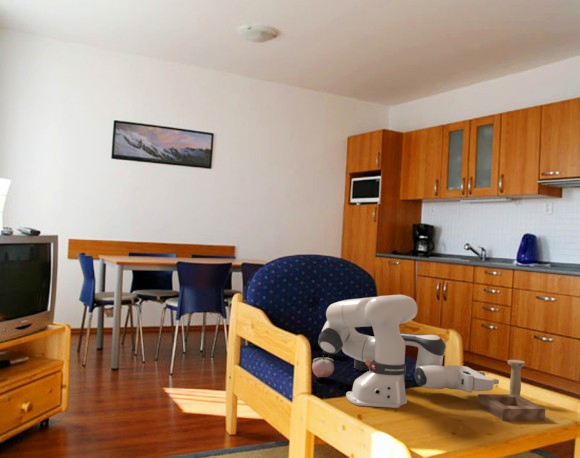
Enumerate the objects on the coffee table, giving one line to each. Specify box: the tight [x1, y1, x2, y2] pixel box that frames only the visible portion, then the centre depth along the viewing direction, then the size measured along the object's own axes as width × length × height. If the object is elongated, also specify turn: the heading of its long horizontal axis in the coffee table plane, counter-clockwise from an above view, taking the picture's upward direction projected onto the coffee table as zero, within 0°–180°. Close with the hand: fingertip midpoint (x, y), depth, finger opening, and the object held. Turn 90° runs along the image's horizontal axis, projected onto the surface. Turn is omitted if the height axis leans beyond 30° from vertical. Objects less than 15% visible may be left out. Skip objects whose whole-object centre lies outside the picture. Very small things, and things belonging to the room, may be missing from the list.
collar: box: [477, 393, 546, 422], centre depth 183 cm, size 16×16×4 cm
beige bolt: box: [507, 359, 526, 396], centre depth 198 cm, size 5×6×15 cm
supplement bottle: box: [353, 358, 369, 370], centre depth 232 cm, size 7×7×12 cm
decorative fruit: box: [311, 354, 335, 378], centre depth 213 cm, size 9×8×10 cm
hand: (490, 377), depth 197 cm, fingers open, 8 cm apart
